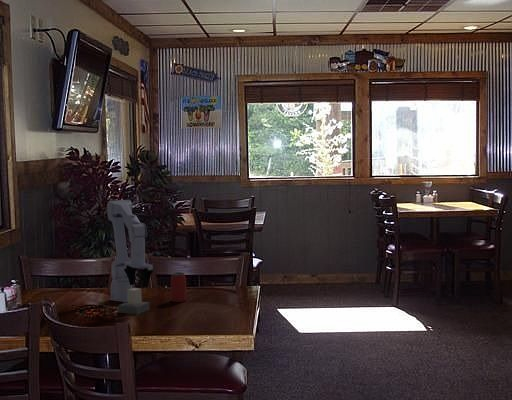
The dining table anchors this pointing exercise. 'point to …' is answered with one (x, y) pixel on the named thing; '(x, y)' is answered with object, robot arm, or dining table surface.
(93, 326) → the dining table surface
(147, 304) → the plate
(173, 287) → the beer can
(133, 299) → the cream block
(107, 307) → the dining table surface
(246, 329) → the dining table surface
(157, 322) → the dining table surface
